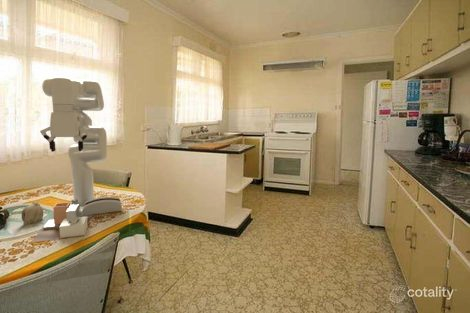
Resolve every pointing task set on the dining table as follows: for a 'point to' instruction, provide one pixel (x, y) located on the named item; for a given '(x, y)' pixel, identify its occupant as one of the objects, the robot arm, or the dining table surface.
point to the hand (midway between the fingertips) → (67, 150)
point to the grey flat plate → (51, 234)
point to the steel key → (73, 213)
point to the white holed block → (73, 227)
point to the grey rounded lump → (32, 213)
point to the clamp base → (51, 224)
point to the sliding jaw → (60, 212)
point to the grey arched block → (102, 205)
